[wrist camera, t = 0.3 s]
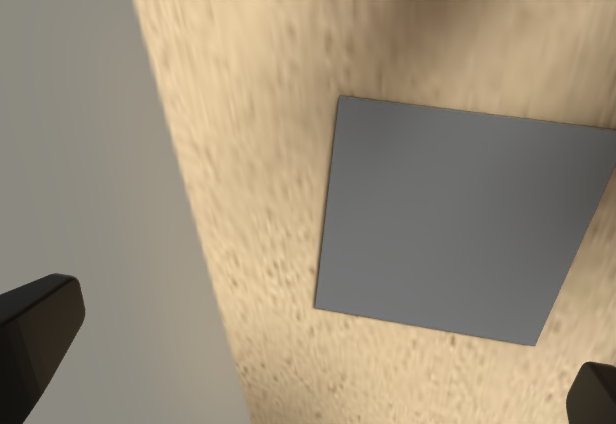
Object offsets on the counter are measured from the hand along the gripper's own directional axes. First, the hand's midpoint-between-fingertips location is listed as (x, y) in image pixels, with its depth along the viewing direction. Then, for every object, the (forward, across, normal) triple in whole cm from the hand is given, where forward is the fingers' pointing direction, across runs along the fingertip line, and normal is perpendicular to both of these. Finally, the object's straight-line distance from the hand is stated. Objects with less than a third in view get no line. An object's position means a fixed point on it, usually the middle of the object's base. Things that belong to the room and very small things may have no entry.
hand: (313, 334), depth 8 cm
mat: (+14, -5, +5) cm, 16 cm away
